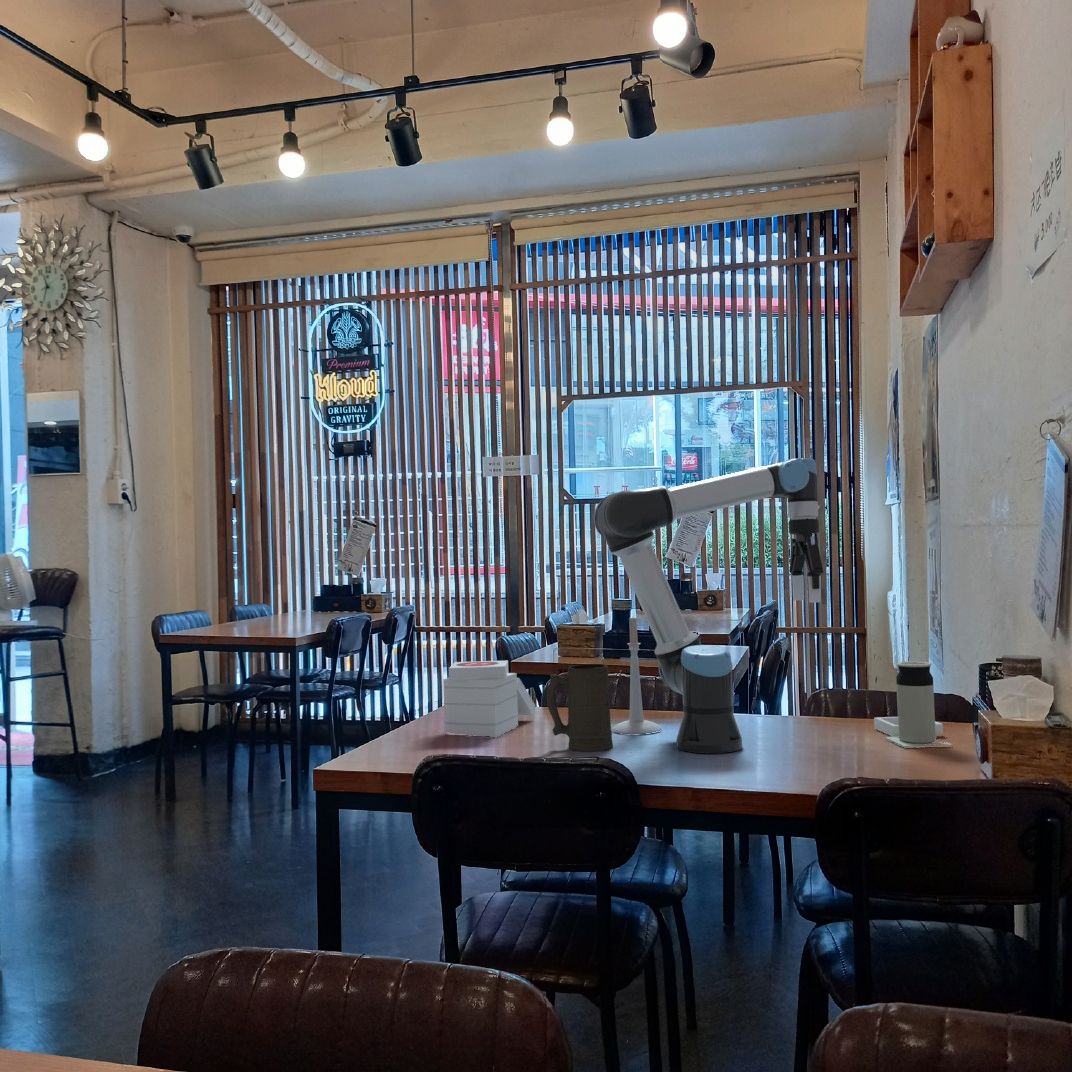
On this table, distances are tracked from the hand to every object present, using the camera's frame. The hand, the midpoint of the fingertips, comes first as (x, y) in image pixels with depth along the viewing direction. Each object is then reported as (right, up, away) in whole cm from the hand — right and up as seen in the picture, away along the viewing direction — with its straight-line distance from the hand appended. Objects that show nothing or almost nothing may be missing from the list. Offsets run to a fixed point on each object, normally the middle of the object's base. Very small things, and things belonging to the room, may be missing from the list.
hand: (806, 601), depth 237 cm
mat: (+19, -32, -22) cm, 43 cm away
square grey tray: (+22, -32, -10) cm, 40 cm away
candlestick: (-43, -35, +5) cm, 55 cm away
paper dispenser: (-82, -36, +16) cm, 91 cm away
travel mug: (+19, -31, -22) cm, 43 cm away
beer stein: (-59, -34, -15) cm, 70 cm away
